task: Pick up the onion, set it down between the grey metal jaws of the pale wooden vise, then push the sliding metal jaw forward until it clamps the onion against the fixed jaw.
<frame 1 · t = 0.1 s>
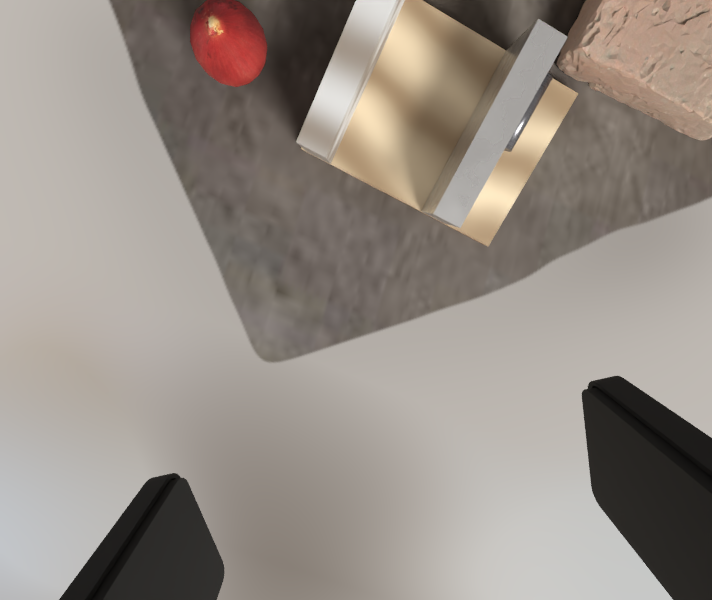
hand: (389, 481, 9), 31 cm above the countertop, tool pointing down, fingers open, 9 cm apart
vise jaw: (491, 140, 31), point 5 cm above the countertop, slide at 0.0 cm
brick: (649, 61, 34), on the countertop
onion: (243, 60, 34), on the countertop
vise base: (433, 124, 35), on the countertop
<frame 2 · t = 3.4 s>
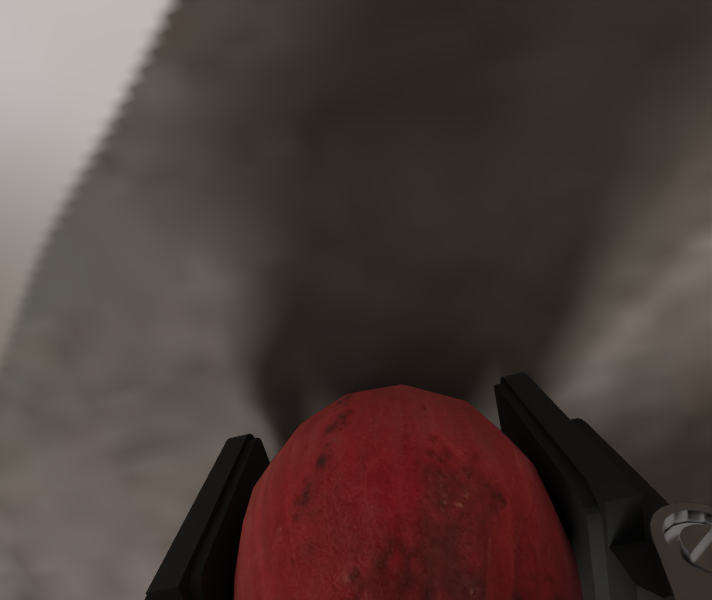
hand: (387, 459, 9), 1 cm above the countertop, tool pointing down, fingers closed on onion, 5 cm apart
onion: (383, 426, 11), on the countertop, touching gripper
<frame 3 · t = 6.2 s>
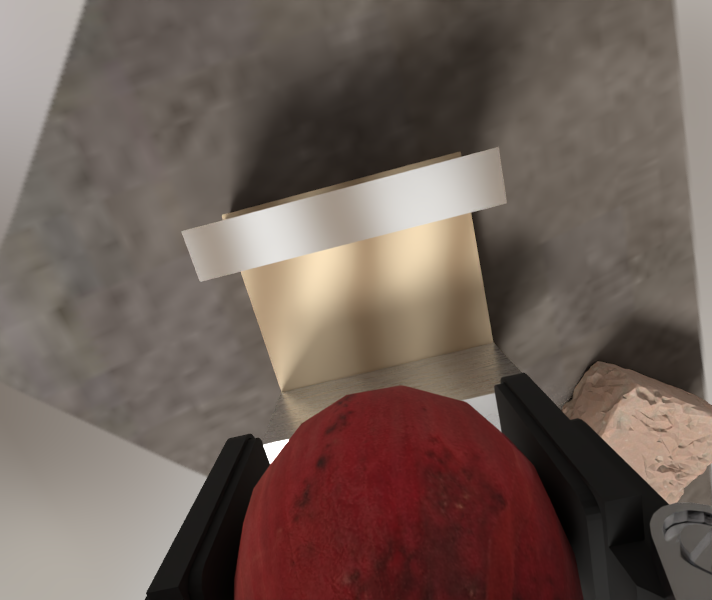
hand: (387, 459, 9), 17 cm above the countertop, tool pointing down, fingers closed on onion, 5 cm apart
vise jaw: (396, 416, 24), point 5 cm above the countertop, slide at 0.0 cm
brick: (583, 457, 30), on the countertop
onion: (383, 426, 11), point 16 cm above the countertop, touching gripper
vise base: (375, 326, 27), on the countertop
when the fingers open (4 cm above the countertop, at t = 9.2 s): onion stays where it is, resting on vise base.
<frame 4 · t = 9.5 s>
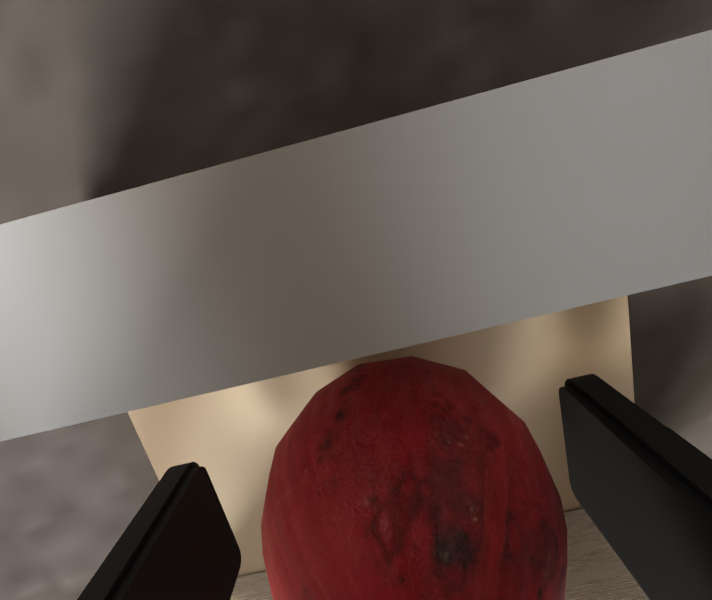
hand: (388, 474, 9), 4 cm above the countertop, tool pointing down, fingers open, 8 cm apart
onion: (387, 403, 12), point 1 cm above the countertop, touching vise base
vise base: (394, 449, 14), on the countertop
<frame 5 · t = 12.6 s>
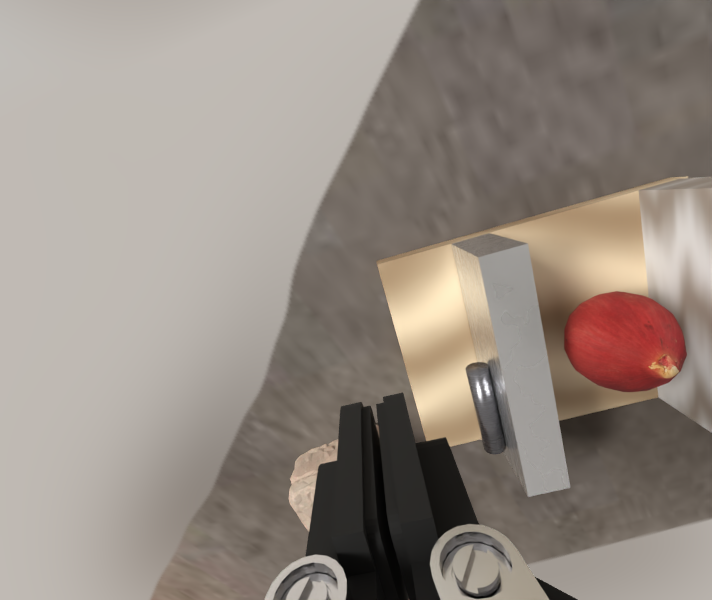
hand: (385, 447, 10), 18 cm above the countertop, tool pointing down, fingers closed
vise jaw: (496, 362, 24), point 5 cm above the countertop, slide at 0.0 cm
brick: (381, 508, 33), on the countertop
onion: (582, 320, 26), point 1 cm above the countertop, touching vise base
vise base: (535, 321, 28), on the countertop
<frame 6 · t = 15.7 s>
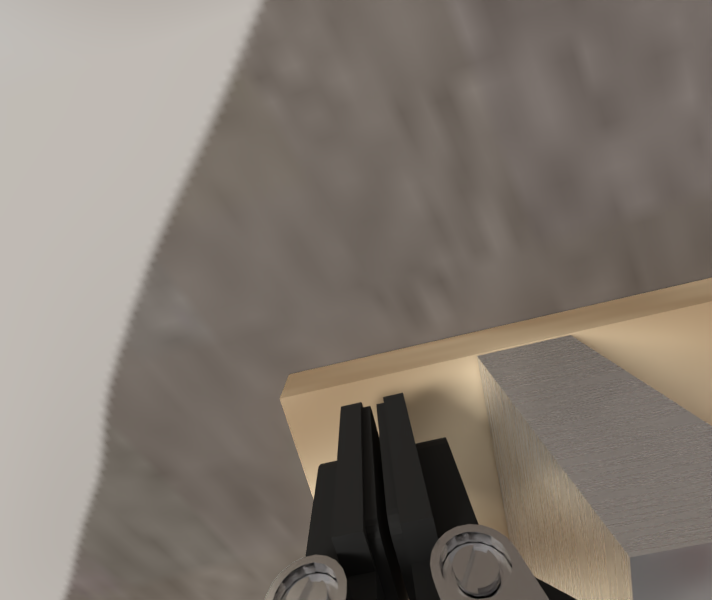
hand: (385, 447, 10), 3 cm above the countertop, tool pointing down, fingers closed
vise base: (621, 500, 13), on the countertop
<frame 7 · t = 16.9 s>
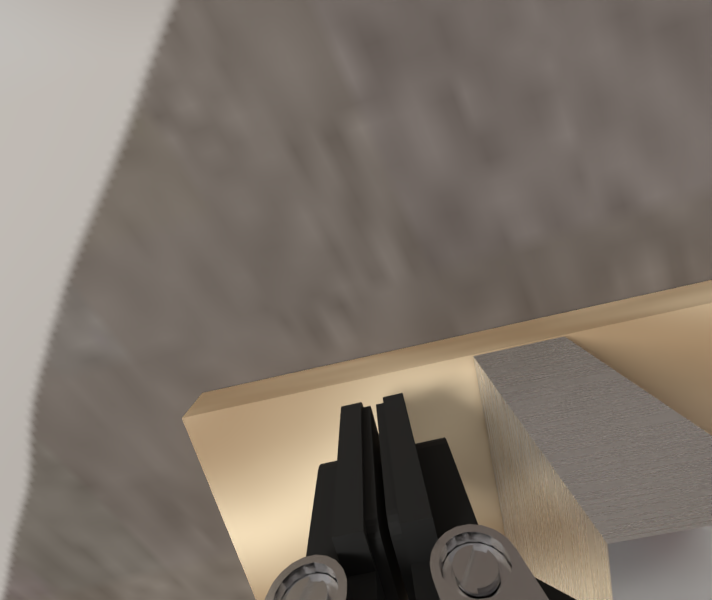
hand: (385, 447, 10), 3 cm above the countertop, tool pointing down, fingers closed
vise base: (530, 516, 14), on the countertop
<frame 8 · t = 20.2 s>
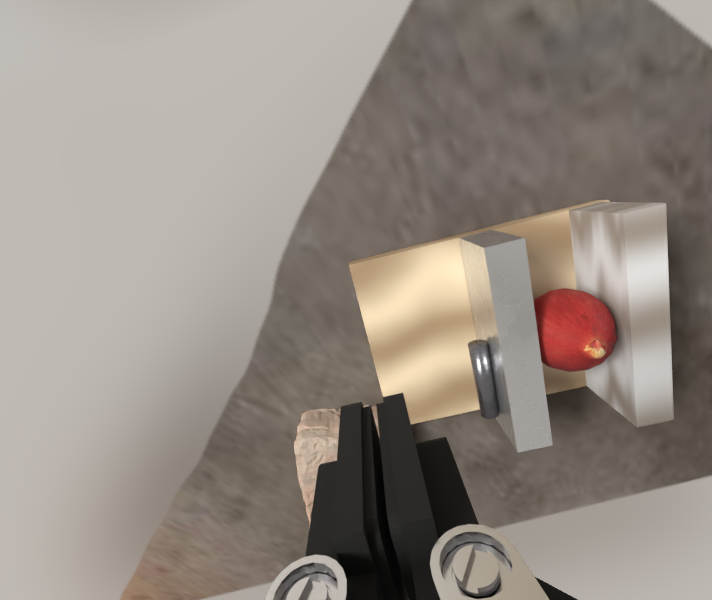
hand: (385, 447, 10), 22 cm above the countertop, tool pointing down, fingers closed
vise jaw: (494, 339, 28), point 5 cm above the countertop, slide at 3.6 cm
brick: (352, 478, 37), on the countertop
onion: (540, 313, 31), point 1 cm above the countertop, touching vise base
vise base: (485, 318, 32), on the countertop
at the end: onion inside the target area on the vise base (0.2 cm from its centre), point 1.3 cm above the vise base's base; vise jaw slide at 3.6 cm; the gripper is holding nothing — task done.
